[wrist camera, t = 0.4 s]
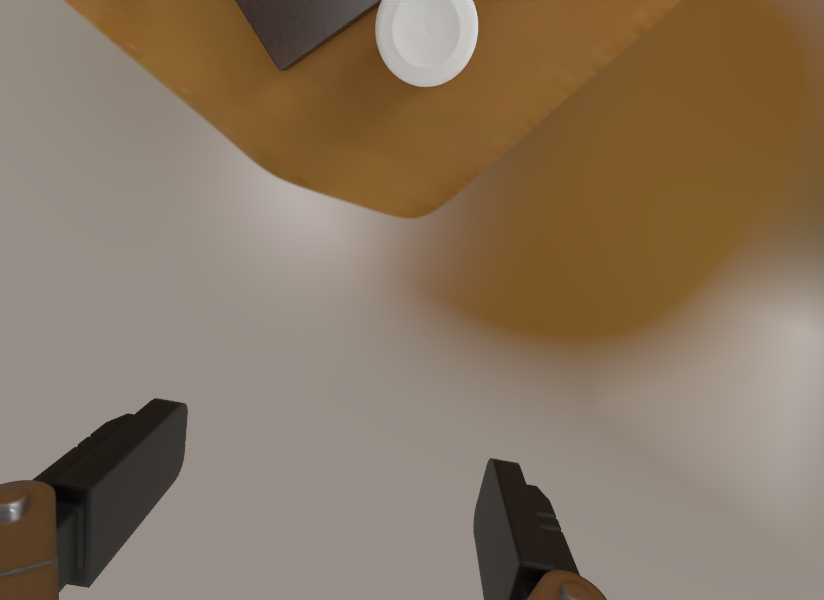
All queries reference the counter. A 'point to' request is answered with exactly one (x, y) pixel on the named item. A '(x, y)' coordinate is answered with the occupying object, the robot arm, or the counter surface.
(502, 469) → the robot arm
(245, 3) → the walnut board
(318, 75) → the counter surface
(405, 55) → the sprinkles bottle
